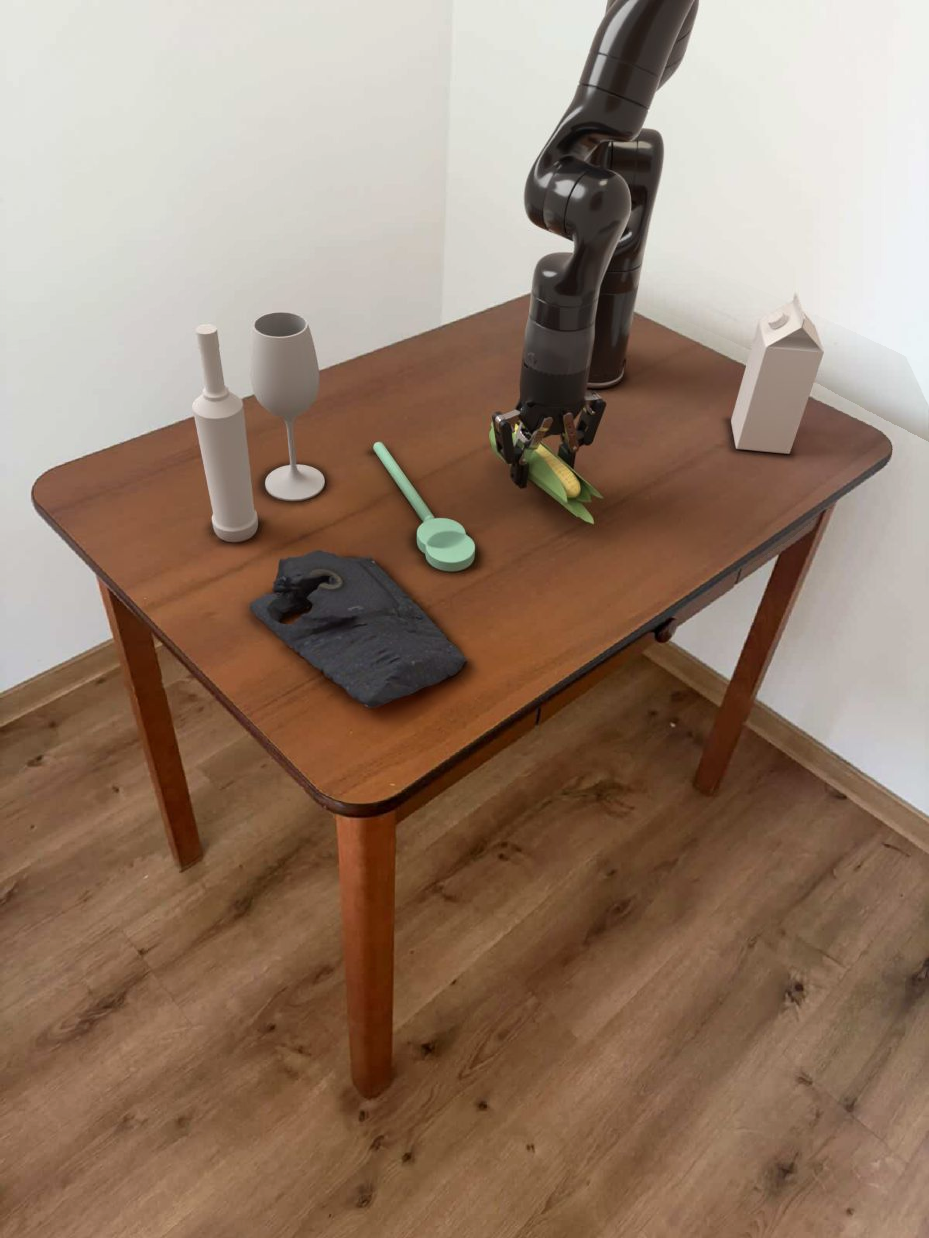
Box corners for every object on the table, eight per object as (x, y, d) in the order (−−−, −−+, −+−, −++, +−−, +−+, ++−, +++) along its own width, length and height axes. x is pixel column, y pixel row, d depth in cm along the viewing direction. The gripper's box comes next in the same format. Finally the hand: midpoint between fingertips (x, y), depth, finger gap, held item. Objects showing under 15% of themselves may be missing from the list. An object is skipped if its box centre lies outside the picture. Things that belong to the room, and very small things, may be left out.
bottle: (221, 548, 109) (187, 346, 91) (207, 522, 112) (172, 322, 95) (265, 536, 111) (240, 336, 93) (250, 511, 114) (224, 312, 96)
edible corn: (509, 434, 124) (512, 404, 121) (610, 519, 113) (616, 488, 109) (476, 446, 122) (478, 416, 118) (576, 534, 110) (581, 503, 107)
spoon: (356, 453, 123) (356, 444, 122) (397, 444, 125) (397, 435, 124) (437, 576, 107) (437, 567, 106) (482, 564, 109) (483, 555, 108)
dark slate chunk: (351, 737, 90) (349, 704, 87) (240, 603, 102) (235, 570, 99) (480, 669, 97) (483, 636, 94) (362, 552, 109) (361, 519, 106)
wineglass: (300, 457, 122) (287, 301, 107) (338, 485, 118) (330, 327, 104) (251, 481, 118) (230, 322, 103) (289, 510, 114) (272, 349, 100)
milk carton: (782, 426, 133) (824, 295, 119) (789, 455, 128) (834, 322, 114) (730, 421, 133) (767, 289, 120) (735, 450, 128) (774, 316, 115)
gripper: (597, 327, 109) (577, 450, 121) (483, 348, 105) (474, 474, 117) (631, 359, 105) (607, 484, 117) (513, 383, 100) (501, 511, 112)
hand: (541, 479), depth 117 cm, fingers closed on edible corn, 5 cm apart
